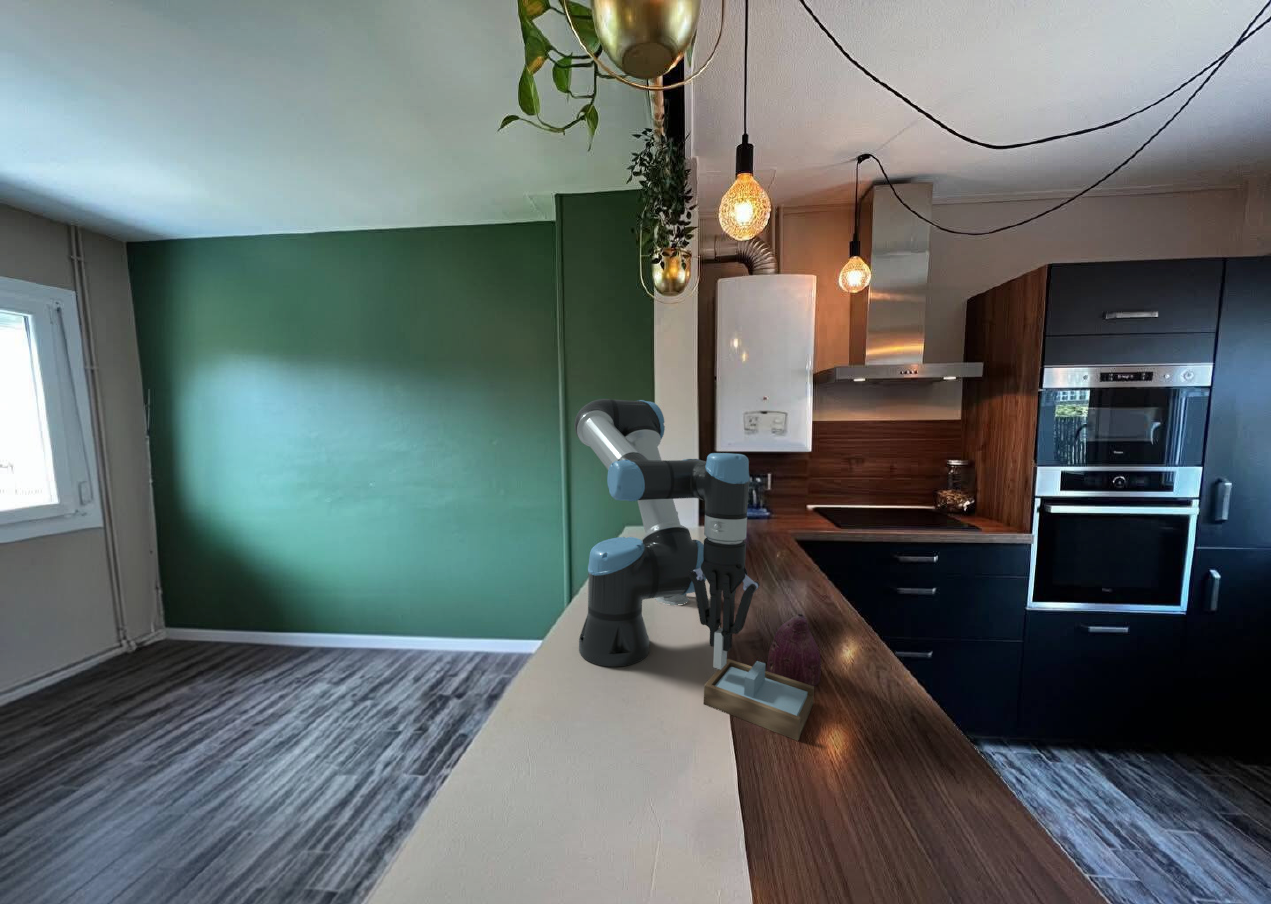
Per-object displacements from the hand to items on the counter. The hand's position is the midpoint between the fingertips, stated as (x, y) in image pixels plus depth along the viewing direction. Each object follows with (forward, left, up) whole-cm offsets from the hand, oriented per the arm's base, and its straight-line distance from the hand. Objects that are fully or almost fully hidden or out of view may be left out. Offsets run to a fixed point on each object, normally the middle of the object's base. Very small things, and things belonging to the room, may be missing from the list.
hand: (719, 665), depth 82 cm
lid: (+8, 0, -3) cm, 8 cm away
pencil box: (+7, 0, -5) cm, 9 cm away
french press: (-27, +34, -5) cm, 44 cm away
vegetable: (+10, +14, -5) cm, 18 cm away
